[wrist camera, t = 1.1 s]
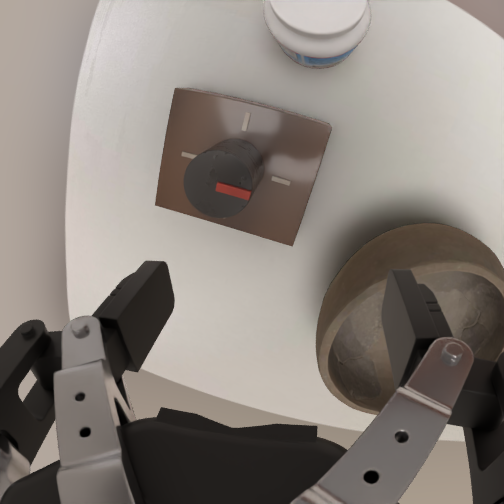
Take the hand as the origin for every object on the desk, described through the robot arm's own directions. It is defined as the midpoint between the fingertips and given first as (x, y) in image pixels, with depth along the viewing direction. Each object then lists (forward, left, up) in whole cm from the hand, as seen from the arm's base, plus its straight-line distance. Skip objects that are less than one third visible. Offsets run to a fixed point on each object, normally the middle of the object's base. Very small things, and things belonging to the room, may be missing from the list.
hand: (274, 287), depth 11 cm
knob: (-5, 0, -14) cm, 15 cm away
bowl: (+13, -7, -17) cm, 23 cm away
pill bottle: (-2, +12, -17) cm, 21 cm away
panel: (-5, 0, -17) cm, 18 cm away
